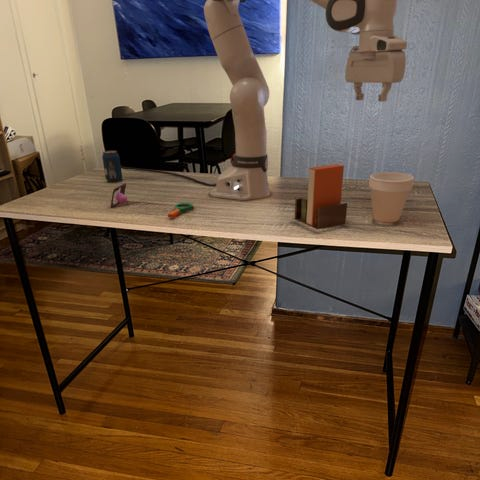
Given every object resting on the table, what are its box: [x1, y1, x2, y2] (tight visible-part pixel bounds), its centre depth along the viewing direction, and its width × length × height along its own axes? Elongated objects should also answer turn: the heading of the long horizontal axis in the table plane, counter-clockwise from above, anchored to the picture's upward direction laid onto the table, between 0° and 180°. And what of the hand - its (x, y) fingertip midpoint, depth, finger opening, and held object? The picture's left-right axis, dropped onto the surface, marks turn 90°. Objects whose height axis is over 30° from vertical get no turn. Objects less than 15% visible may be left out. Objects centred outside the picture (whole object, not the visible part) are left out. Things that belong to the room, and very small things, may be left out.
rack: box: [293, 196, 348, 230], centre depth 136 cm, size 12×11×8 cm
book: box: [306, 163, 345, 227], centre depth 132 cm, size 3×10×16 cm, turn 119°
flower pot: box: [368, 171, 415, 223], centre depth 135 cm, size 12×12×14 cm
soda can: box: [101, 150, 123, 184], centre depth 192 cm, size 7×7×12 cm
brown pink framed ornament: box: [110, 183, 130, 208], centre depth 161 cm, size 7×5×9 cm
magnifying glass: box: [167, 202, 194, 219], centre depth 151 cm, size 15×6×2 cm, turn 164°
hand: (370, 100), depth 130 cm, fingers open, 8 cm apart
